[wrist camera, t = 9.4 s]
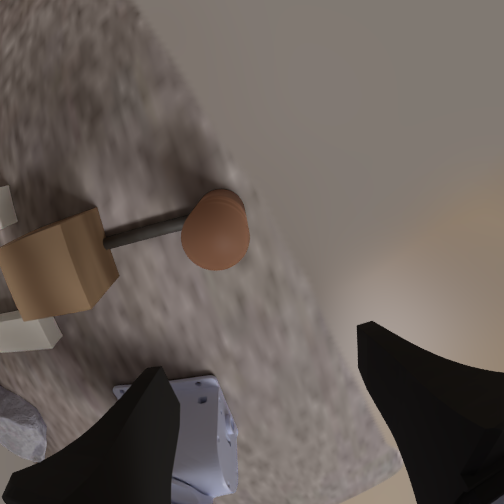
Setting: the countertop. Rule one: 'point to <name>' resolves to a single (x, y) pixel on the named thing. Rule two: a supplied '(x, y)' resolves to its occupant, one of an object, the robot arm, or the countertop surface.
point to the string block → (100, 257)
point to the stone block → (21, 427)
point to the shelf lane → (11, 323)
